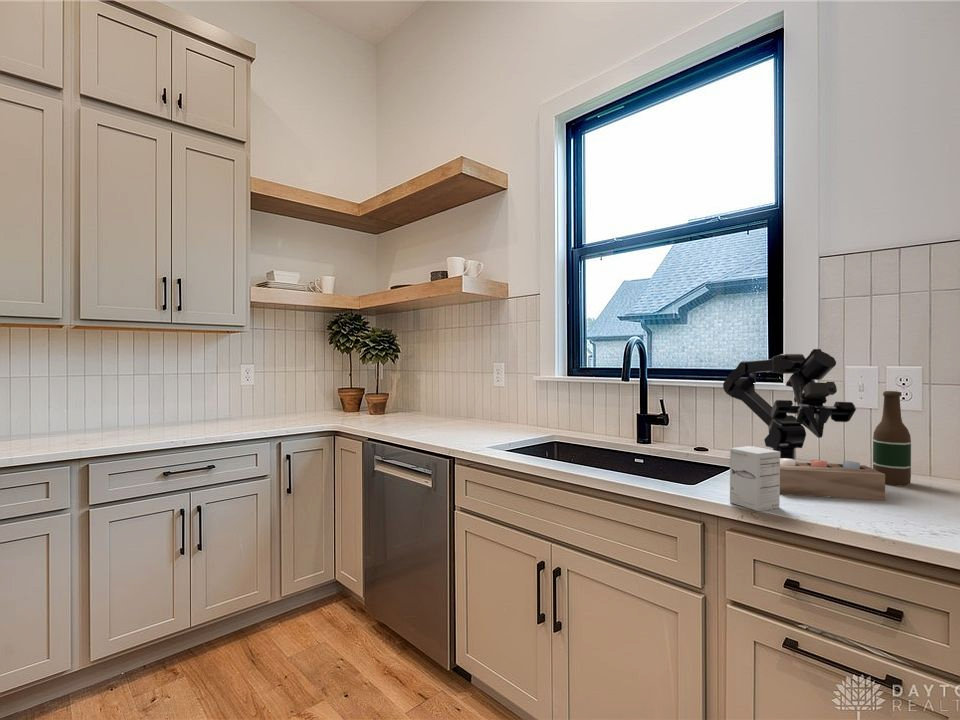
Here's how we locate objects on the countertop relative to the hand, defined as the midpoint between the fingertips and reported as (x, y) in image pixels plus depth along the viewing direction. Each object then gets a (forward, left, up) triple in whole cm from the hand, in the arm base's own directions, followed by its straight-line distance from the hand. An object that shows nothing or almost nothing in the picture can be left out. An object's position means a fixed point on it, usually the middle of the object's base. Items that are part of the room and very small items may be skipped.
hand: (820, 436), depth 133 cm
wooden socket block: (+8, -2, -12) cm, 15 cm away
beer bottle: (-7, +19, -13) cm, 24 cm away
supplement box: (+25, -21, -13) cm, 35 cm away
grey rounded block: (+5, +5, -10) cm, 12 cm away
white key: (+5, -9, -10) cm, 14 cm away
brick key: (+5, -2, -10) cm, 11 cm away
